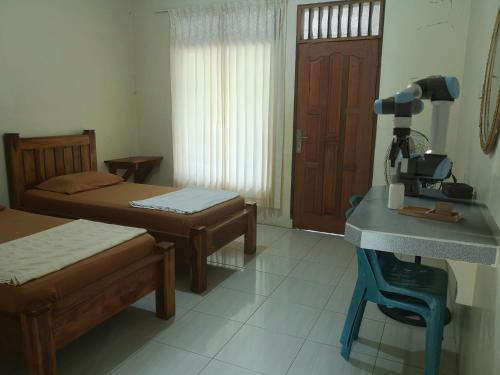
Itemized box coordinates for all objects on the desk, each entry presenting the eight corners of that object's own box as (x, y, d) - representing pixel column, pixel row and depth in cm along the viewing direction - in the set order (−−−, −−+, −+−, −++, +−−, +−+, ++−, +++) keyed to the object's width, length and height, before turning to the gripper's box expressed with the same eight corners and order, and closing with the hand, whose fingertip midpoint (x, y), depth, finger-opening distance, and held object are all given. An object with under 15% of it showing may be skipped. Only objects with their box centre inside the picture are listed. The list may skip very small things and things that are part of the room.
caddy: (407, 210, 178) (407, 204, 178) (462, 219, 163) (462, 213, 163) (397, 214, 170) (397, 208, 169) (454, 224, 155) (455, 217, 154)
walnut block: (436, 215, 167) (437, 201, 166) (451, 217, 164) (453, 203, 163) (434, 218, 162) (435, 203, 161) (450, 220, 159) (451, 205, 158)
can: (403, 210, 178) (406, 184, 176) (389, 209, 180) (391, 184, 178) (401, 207, 185) (403, 182, 183) (387, 206, 186) (389, 182, 184)
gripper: (403, 127, 187) (400, 170, 191) (383, 126, 169) (379, 174, 172) (419, 127, 183) (415, 171, 186) (400, 127, 164) (396, 176, 167)
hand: (398, 173), depth 179 cm, fingers open, 13 cm apart
